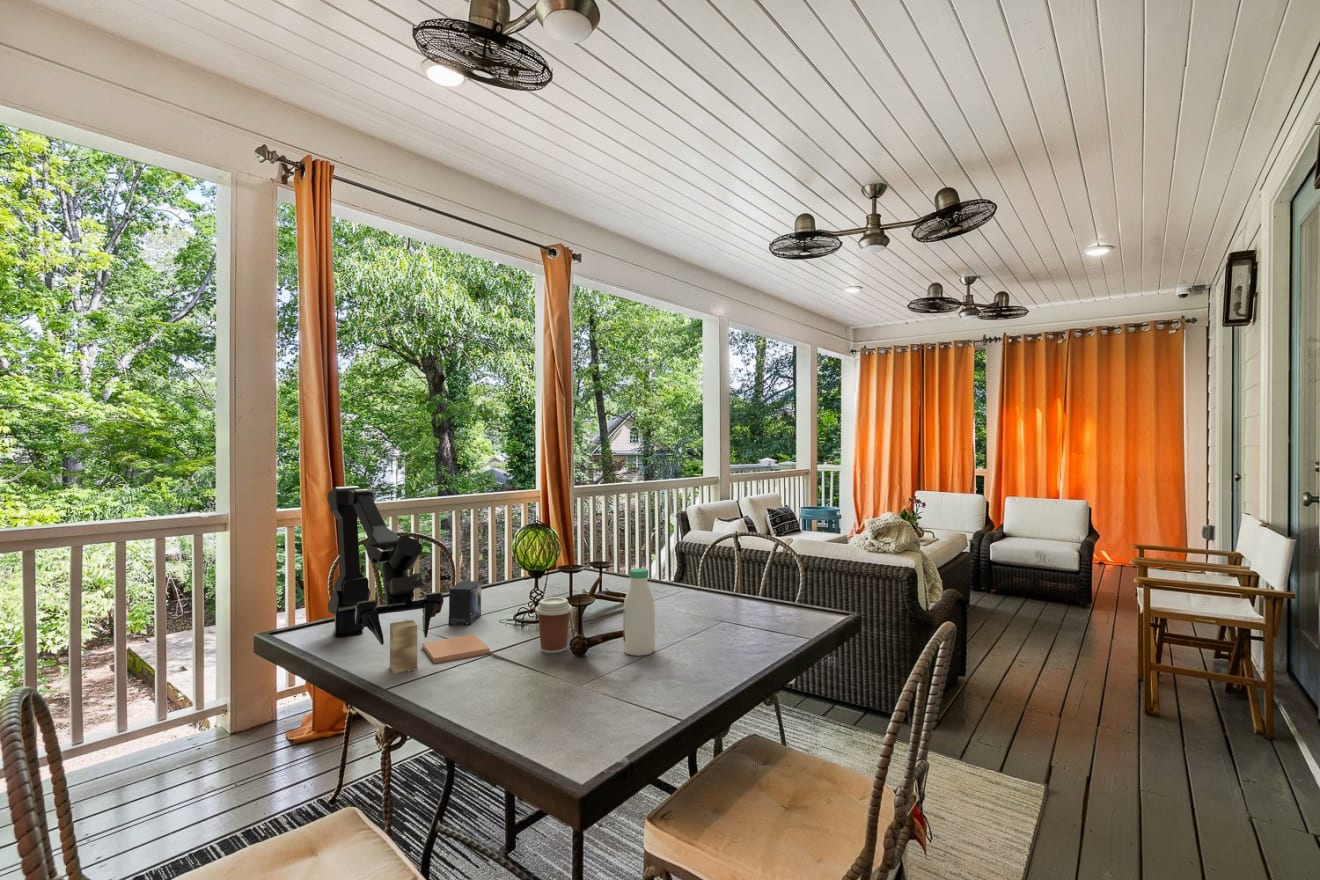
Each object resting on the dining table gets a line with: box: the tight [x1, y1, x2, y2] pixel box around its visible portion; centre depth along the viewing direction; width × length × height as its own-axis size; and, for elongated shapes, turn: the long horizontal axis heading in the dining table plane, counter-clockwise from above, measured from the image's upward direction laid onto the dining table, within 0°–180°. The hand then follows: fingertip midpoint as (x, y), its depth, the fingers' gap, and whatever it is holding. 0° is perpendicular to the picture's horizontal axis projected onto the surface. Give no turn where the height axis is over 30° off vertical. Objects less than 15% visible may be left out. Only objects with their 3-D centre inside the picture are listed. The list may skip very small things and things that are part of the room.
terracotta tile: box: [421, 634, 490, 664], centre depth 152 cm, size 13×13×1 cm
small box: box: [448, 580, 482, 626], centre depth 178 cm, size 11×6×10 cm, turn 179°
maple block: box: [389, 619, 418, 674], centre depth 140 cm, size 5×5×10 cm
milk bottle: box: [622, 567, 656, 657], centre depth 151 cm, size 8×8×20 cm
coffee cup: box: [534, 596, 573, 654], centre depth 153 cm, size 9×9×12 cm
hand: (404, 640), depth 139 cm, fingers open, 9 cm apart
